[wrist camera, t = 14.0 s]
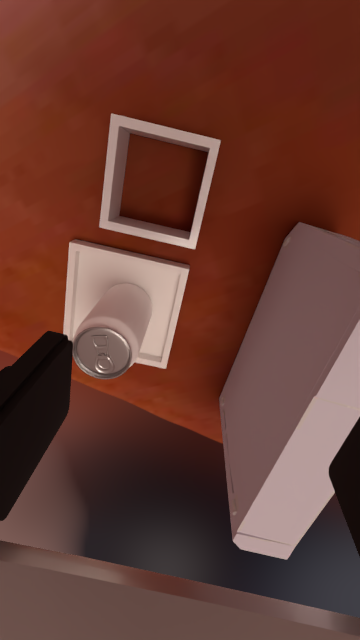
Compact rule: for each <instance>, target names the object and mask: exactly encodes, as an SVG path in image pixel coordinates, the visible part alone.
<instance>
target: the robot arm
mask: <svg viewBox="0 0 360 640" xmlns="http://www.w3.org/2000/svg"><path fill="white" fill-rule="evenodd" d="M72 354H73V342H72V341H70V340H68V336H67V335H65V334H61V333H56V332H52V331H47V332H46V333H45V334H44V335H43V336H42V337H41V338H40V339H39V340H38V341H37V342H36V343H34V344H33V345H32V346H31V347H30V348H29V349H28V350H27V351H26V352H25V353H24V354H23V355H22V356H21V357H20V358H19V359H18V360H17V361H16V362H15V363H14V364H13V365H12V366H8V367H5V368H4V369H2V370H1V371H0V520H1V521H3V520H4V519H5V518H6V517H7V515H8V514H9V512H10V510H11V509H12V507H13V505H14V504H15V502H16V500H17V499H18V497H19V495H20V494H21V492H22V490H23V489H24V487H25V485H26V484H27V482H28V480H29V478H30V477H31V475H32V473H33V472H34V470H35V468H36V467H37V465H38V463H39V462H40V460H41V458H42V456H43V455H44V453H45V451H46V450H47V448H48V446H49V445H50V443H51V441H52V440H53V438H54V436H55V435H56V433H57V431H58V429H59V428H60V426H61V424H62V423H63V421H64V419H65V417H66V416H67V413H68V410H69V402H70V386H71V370H72ZM329 478H330V480H331V483H332V485H333V488H334V491H335V493H336V496H337V498H338V501H339V504H340V506H341V509H342V512H343V514H344V517H345V519H346V522H347V524H348V527H349V530H350V533H351V535H352V538H353V540H354V543H355V546H356V548H357V551H358V553H359V556H360V417H359V418H358V420H357V422H356V423H355V425H354V426H353V428H352V430H351V431H350V433H349V435H348V436H347V438H346V439H345V441H344V443H343V444H342V446H341V447H340V449H339V451H338V452H337V454H336V456H335V457H334V459H333V460H332V462H331V464H330V466H329ZM0 640H360V618H357V617H353V616H349V615H344V614H340V613H335V612H330V611H326V610H322V609H318V608H313V607H309V606H304V605H300V604H295V603H291V602H286V601H282V600H277V599H273V598H269V597H264V596H260V595H255V594H250V593H246V592H241V591H237V590H232V589H228V588H223V587H218V586H214V585H210V584H205V583H200V582H196V581H192V580H187V579H183V578H178V577H173V576H169V575H164V574H159V573H155V572H150V571H146V570H141V569H137V568H132V567H127V566H122V565H118V564H113V563H109V562H104V561H100V560H95V559H90V558H86V557H81V556H76V555H71V554H66V553H61V552H56V551H51V550H46V549H41V548H35V547H31V546H26V545H20V544H15V543H10V542H5V541H0Z"/></svg>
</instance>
